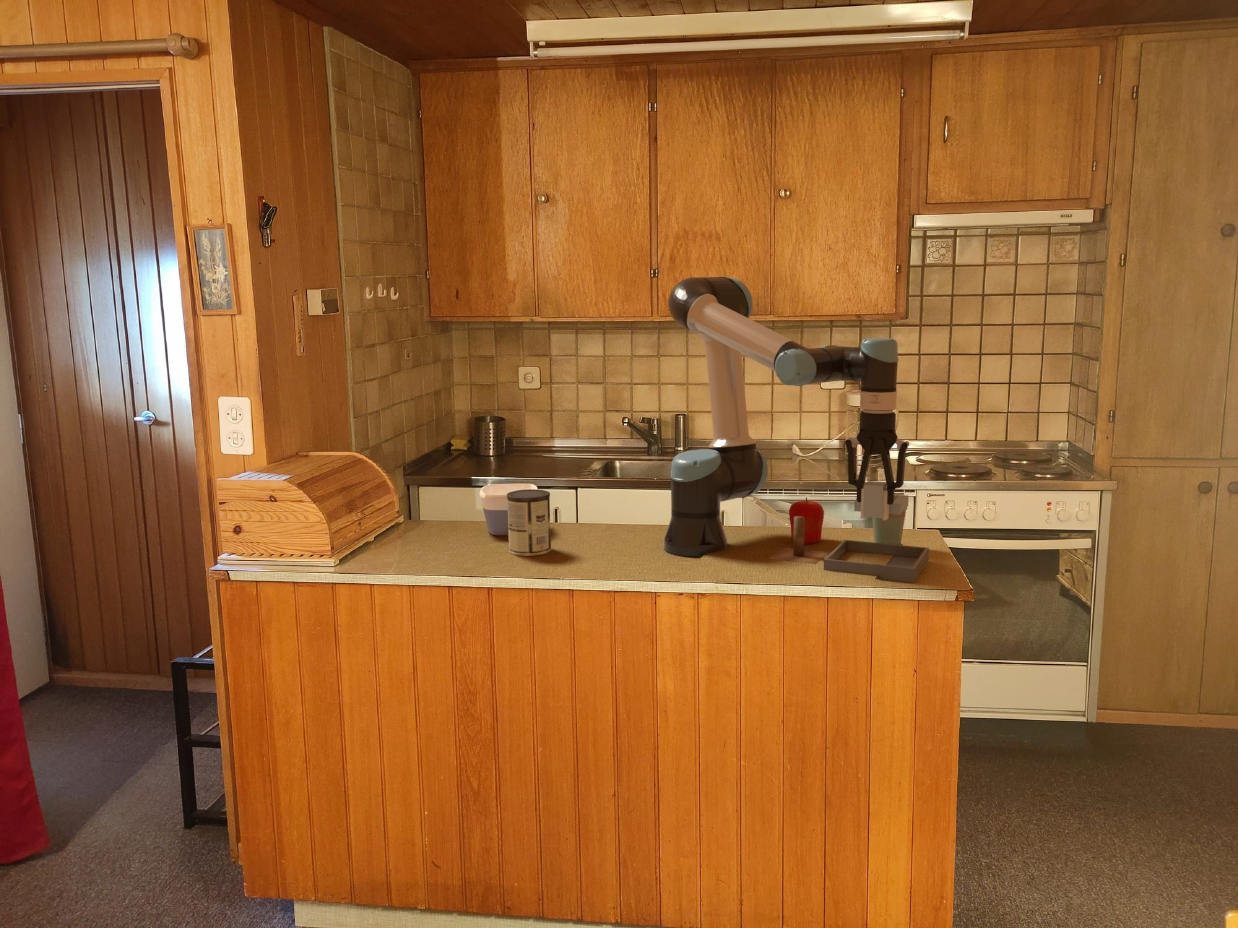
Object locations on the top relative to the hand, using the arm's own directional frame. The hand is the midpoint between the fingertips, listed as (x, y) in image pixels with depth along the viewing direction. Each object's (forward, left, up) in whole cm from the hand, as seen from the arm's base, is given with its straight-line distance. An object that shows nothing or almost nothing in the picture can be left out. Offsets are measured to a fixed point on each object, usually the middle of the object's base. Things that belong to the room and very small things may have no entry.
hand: (874, 517), depth 226 cm
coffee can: (-79, -13, -13) cm, 81 cm away
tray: (0, +5, -12) cm, 13 cm away
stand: (-18, +5, -12) cm, 22 cm away
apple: (-20, +19, -13) cm, 30 cm away
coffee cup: (-1, +22, -13) cm, 25 cm away
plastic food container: (-94, +3, -13) cm, 95 cm away
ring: (0, +5, +1) cm, 5 cm away
